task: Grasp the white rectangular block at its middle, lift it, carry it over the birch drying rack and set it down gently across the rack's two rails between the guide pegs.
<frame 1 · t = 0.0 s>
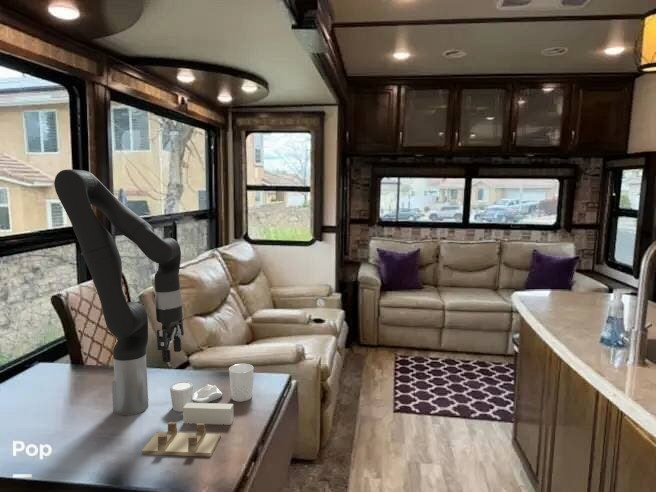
hand: (172, 356, 138), 17 cm above the table, tool pointing down, fingers open, 8 cm apart
rack: (182, 445, 121), on the table
white cup: (241, 397, 149), on the table
white short tapered cylinder: (182, 407, 142), on the table
white rectangular block: (208, 421, 134), on the table
rose: (207, 398, 149), on the table
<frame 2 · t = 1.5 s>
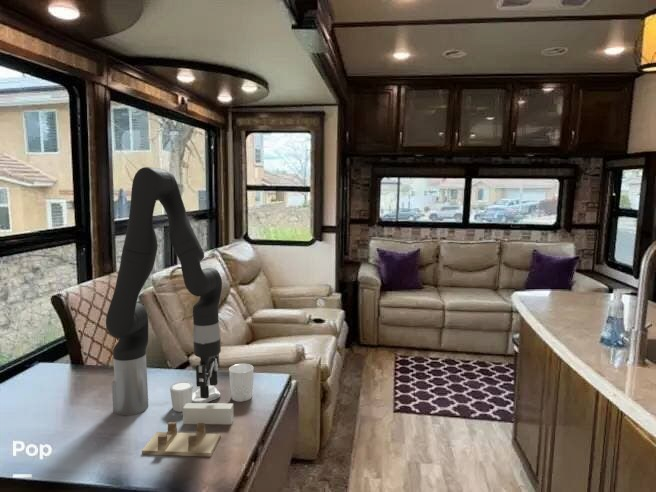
hand: (209, 391, 133), 9 cm above the table, tool pointing down, fingers open, 8 cm apart
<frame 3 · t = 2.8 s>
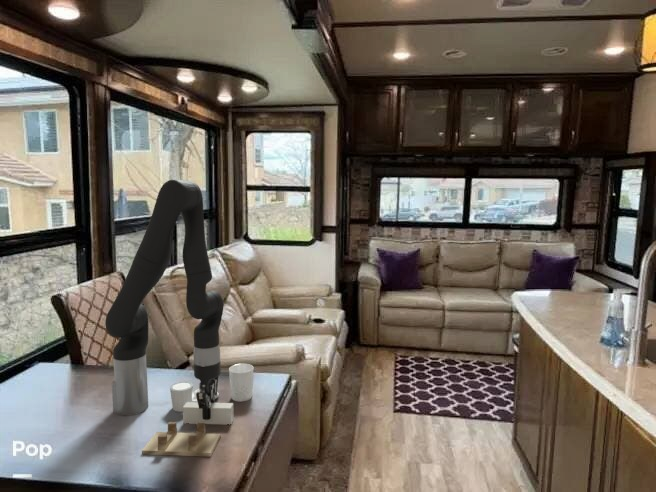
hand: (208, 415, 133), 2 cm above the table, tool pointing down, fingers closed on white rectangular block, 3 cm apart
white rectangular block: (208, 421, 134), on the table, touching gripper
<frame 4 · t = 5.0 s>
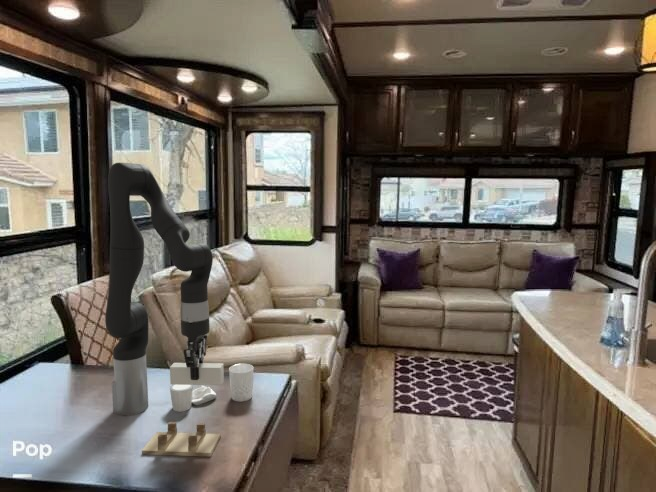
hand: (197, 376, 126), 16 cm above the table, tool pointing down, fingers closed on white rectangular block, 3 cm apart
white rectangular block: (197, 382, 126), point 14 cm above the table, touching gripper
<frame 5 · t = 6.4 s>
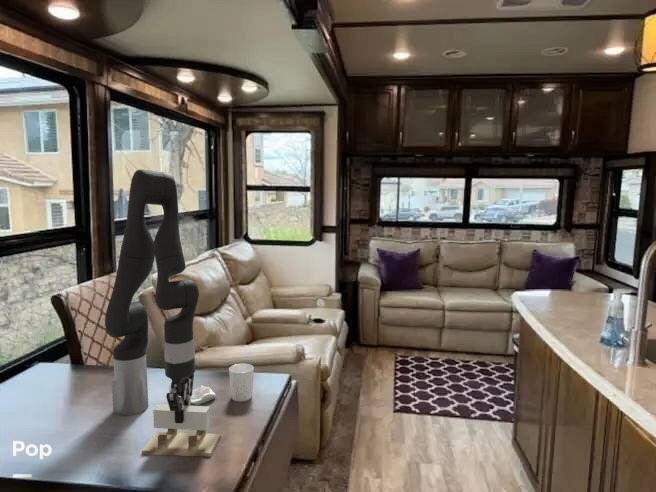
hand: (182, 418, 120), 8 cm above the table, tool pointing down, fingers closed on white rectangular block, 3 cm apart
white rectangular block: (182, 426, 120), point 5 cm above the table, touching gripper
when the fingers open (5 cm above the table, at t = 7.2 s): white rectangular block stays where it is, resting on rack.
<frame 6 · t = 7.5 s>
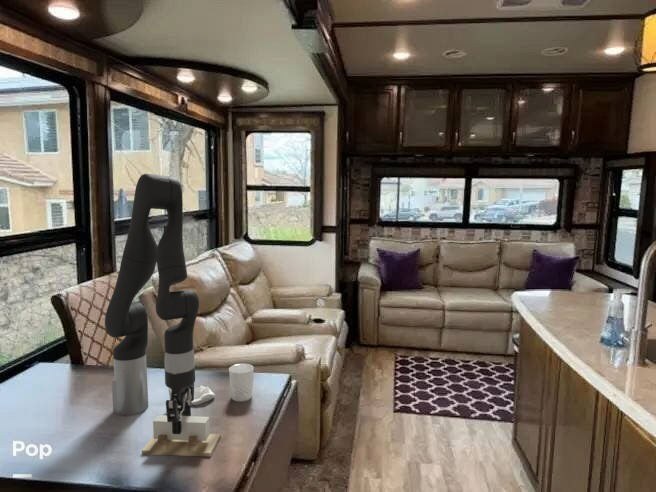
hand: (181, 426, 120), 5 cm above the table, tool pointing down, fingers open, 6 cm apart
white rectangular block: (182, 436, 121), point 2 cm above the table, touching rack
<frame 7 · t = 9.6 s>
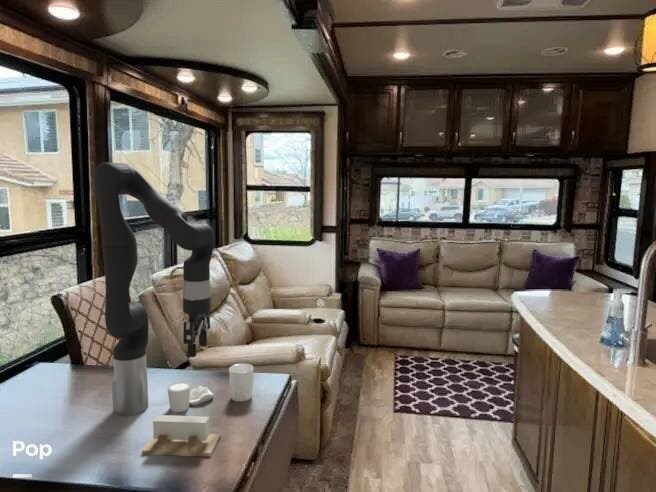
hand: (197, 351, 128), 22 cm above the table, tool pointing down, fingers open, 8 cm apart
white short tapered cylinder: (179, 408, 142), on the table, touching rose
rose: (198, 400, 148), on the table, touching white short tapered cylinder
everything else where it was.
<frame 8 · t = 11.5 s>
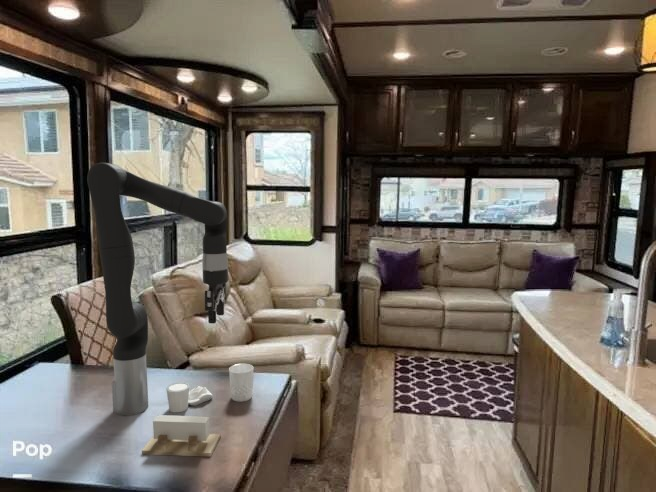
hand: (216, 319, 140), 28 cm above the table, tool pointing down, fingers open, 8 cm apart
white short tapered cylinder: (178, 408, 142), on the table
rose: (197, 400, 147), on the table
everything else where it was.
at the end: white rectangular block 0.1 cm off-centre on the rack, point 2.5 cm above the rack's base; white rectangular block tilted 0°; the gripper is holding nothing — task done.
